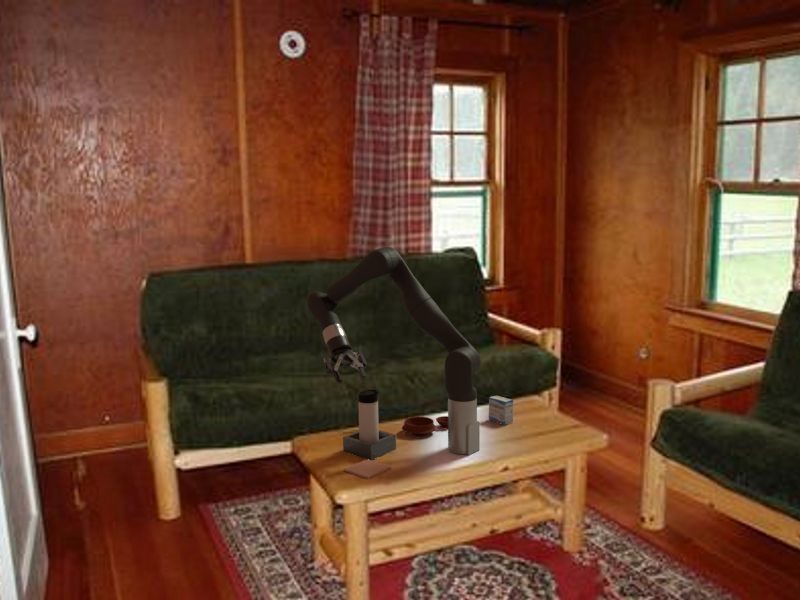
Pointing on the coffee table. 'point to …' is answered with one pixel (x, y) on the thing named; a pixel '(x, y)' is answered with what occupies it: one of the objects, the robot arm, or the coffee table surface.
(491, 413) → the medicine box
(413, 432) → the pottery
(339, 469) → the coffee table surface
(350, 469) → the rubber mat
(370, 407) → the travel mug
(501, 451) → the coffee table surface
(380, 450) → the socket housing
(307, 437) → the coffee table surface
